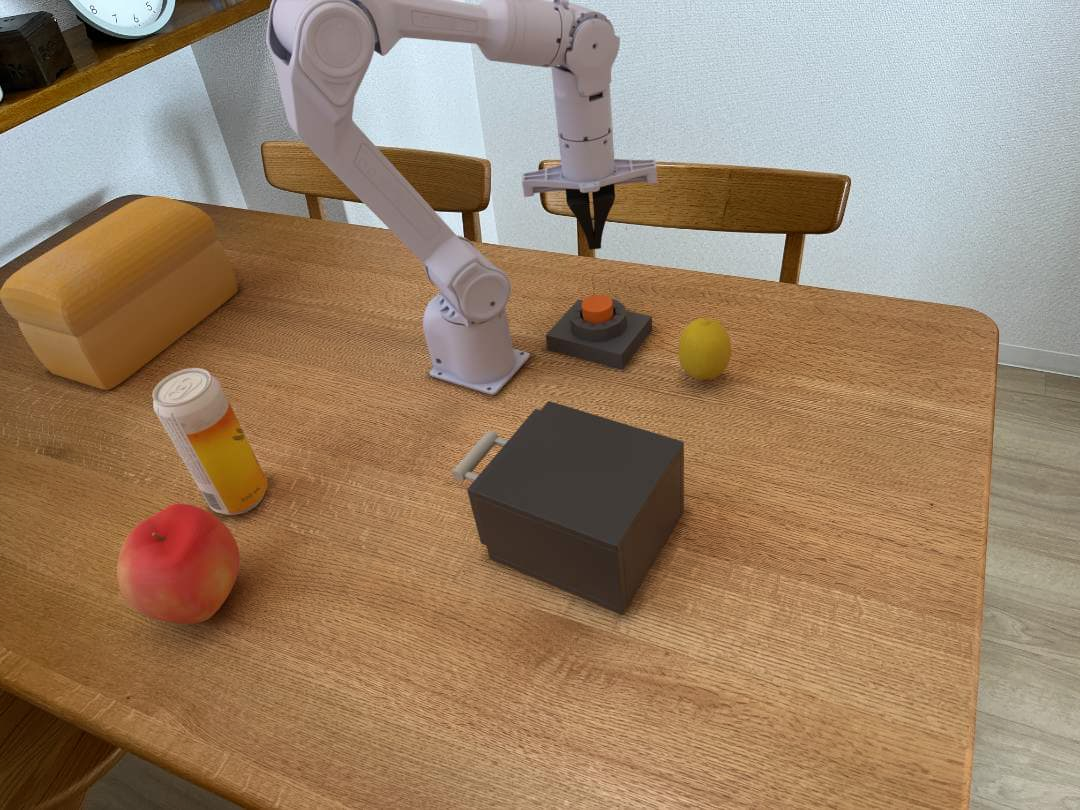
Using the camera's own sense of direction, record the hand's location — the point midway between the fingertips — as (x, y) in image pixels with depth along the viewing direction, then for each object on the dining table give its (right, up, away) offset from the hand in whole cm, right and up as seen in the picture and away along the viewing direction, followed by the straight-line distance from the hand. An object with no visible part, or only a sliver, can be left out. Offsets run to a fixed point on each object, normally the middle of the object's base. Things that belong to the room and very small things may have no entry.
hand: (594, 244), depth 93 cm
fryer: (-2, -30, -19) cm, 36 cm away
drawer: (-5, -29, -18) cm, 34 cm away
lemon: (+12, -16, -4) cm, 20 cm away
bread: (-60, -8, +18) cm, 63 cm away
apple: (-37, -37, -19) cm, 56 cm away
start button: (0, -8, +1) cm, 8 cm away
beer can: (-37, -28, -10) cm, 48 cm away
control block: (+1, -11, +3) cm, 11 cm away
